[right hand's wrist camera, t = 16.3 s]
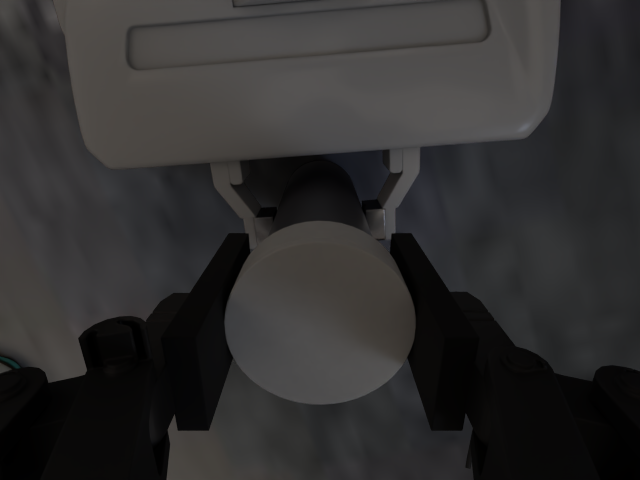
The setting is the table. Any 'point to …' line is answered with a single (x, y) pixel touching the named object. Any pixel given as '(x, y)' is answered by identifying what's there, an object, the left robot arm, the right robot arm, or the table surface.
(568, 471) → the right robot arm
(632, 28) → the table surface
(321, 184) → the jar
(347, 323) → the lid
